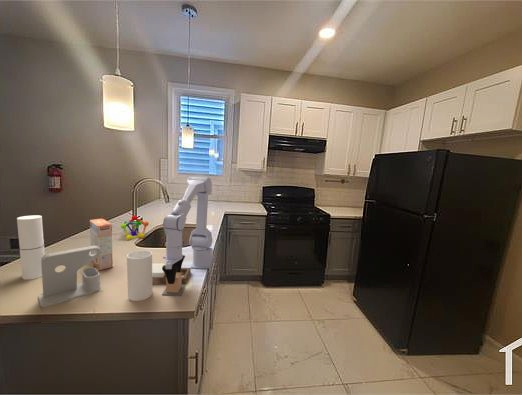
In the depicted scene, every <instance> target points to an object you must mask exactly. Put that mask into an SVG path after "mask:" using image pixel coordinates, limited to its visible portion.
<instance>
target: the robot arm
mask: <svg viewBox="0 0 522 395" xmlns="http://www.w3.org/2000/svg"><path fill="white" fill-rule="evenodd" d="M212 187H213V183H212V179H211V178H210V177H205V176H203V177H202V176H201V177H200V176H192V175H191V176H189V177H188V178H187V180H186V190H185V192H184V195H183V197H182V199H179V200H178V201H177V202H176V204H175V206H174V207H173V209H172V210H171V212H169V214H167V215H165V217H164V218H163V221H162V227H163V229H164V234H165V235H166V236H165V237H166V242H165V243H166V246H165V247H166V250H165V251H166V253H165V254H164V255H163V256H162V257H163V258H162V259H165V264H166V265H164V266H163V267H162V270H163V271H164V273H165V275H166V278H167V281H168V284H174V282H175V277H176V272H180V271H181V268H182V265H183V263H184V260H185V258H186V256H185V255H183V230H184V228H185V225H186V223H187V222H186V221H187V216H188V214H189V212H190V211H191V208H192V205H191V203H192V201H193V200H194V199H195V197H196V196H197V201H196V202H197V203H196V204H197V205H196V219H195V220H196V221H195V229H192V230H191V232H190V237H189V240H188V241H189V242H188V243H189V245H190V247H191V249H192V264H191V265H190V268H191V269H211V268H212V265H213V261H214V259H213V257H214V256H213V254H214V251H213V250H214V249H213V247H211V246H212V243H213V235H212V231H210V230H209V229H208V228H207V225H208V224H207V223H208V206H209V195H212V189H213V188H212Z"/></svg>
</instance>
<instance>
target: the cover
mask: <svg viewBox="0 0 522 395" xmlns="http://www.w3.org/2000/svg"><path fill="white" fill-rule="evenodd" d="M164 265H166V263H162V262H161V263H154V262H152V277H164V276H165V273H164V271H163V270H162V267H163V266H164Z"/></svg>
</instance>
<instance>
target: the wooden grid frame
mask: <svg viewBox="0 0 522 395" xmlns="http://www.w3.org/2000/svg"><path fill="white" fill-rule="evenodd" d="M191 271H192V268H191V267H181V271H180V273H182V275H183V276H182V280H181V285H186V283H187V280H189V277H190V275H191ZM153 284H155V285H160V284H161V285H162V284H163V285H166V275H165V276H164V277H152V285H153Z"/></svg>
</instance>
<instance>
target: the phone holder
mask: <svg viewBox="0 0 522 395" xmlns="http://www.w3.org/2000/svg"><path fill="white" fill-rule="evenodd" d="M92 250H97V252H96V253H95V254H91V251H92ZM100 254H101V250H100V248H99V247H98V246H91V245H89V246H84V247H78V248H72V249H65V250H62V251H55V252H49V253H46V254H45V255H44V256H43V257H42V258H41V266H42V277H41V279H42V281H41V282H42V293H39V295H38V301H39V306H41V308H42V307H43V308H48V307H50V305H51V306H54V305H57V303H58V304H60V302H61V303H63V302H64V301H65V302H68V301H71V300H74V299H79V298H80V297H81V298H82V297H84V296H88V295H92V294H95V293H98V292H100V291H101V289H102V288H101V274H100V272H99V270H98V269H97V268H96V267H88V268H84V269H83V270H82V271H81V275H82V276H81V278H82V282H80V283H78V271H79V270H80V269H82V268H83V267H85V266H87V265H88V264H90V263H92V261H93V260H94V259H96V258H97V257H99V256H100ZM61 266H64V267H65V268H64V269H63V270H61V271H56V269H57V268H58V267H61ZM65 302H64V303H65ZM47 306H48V307H47Z"/></svg>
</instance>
